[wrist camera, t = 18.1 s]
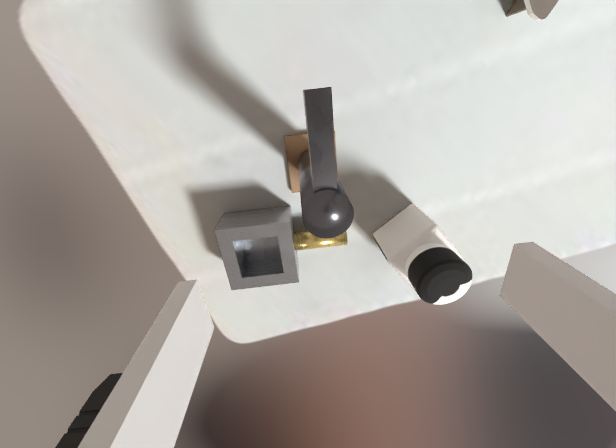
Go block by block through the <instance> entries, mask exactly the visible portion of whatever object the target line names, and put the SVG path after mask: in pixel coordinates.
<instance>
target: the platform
mask: <svg viewBox="0 0 616 448" xmlns="http://www.w3.org/2000/svg"><path fill="white" fill-rule="evenodd" d="M557 2H558V0H516V1H515V2H514V4H513V5H512V7H511V9H510V10H509V12H508V13H507V15H506V16H510V15H513V14H516V13H518V12H521V11H524V10H527V13H528V15H529V16H530V17H532V18H533V19H534V20H535V21H539V20H542V19H545V18H546V17H547V16H548V14H549V13H550V12H551V10H552V9H553V7H554V6H555V5H556V3H557Z"/></svg>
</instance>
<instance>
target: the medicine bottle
mask: <svg viewBox="0 0 616 448" xmlns="http://www.w3.org/2000/svg"><path fill="white" fill-rule="evenodd" d="M373 237H374V239H375V241H376V243H377V244H378V246H379V248H380V249H381V251H382V253H383V255H384V256H385V258H386V260H387V262H388V263H389V264H390V265H391V266H392V267H393V268H394V269H395V270H396V271H397V272H398V273H399V274H400V275H401V276H402V277H403V278H404V279H405V280H406V281H407V282H408V283H409V284H410V286H411V287H412V288H413V289H414V290H415V291H416V292H417V294H418V295H419V297H420V298H421V299H422V300H424V301H425V302H427V303H431V304H438V305H440V304H447V303H450V302H453V301H455V300H457V299H459V298H460V297H461V296H462V295H464V294H465V293H466V292H467V290H468V289H469V287H470V285H471V281H472V271H471V269H470V267H469V266H468V265H467V264H466V263H465V262H464V258H463V257H462V256H461V254H460V253H459V252H458V251H457V249H456V248H455V247H454V245H453V244H452V243H451V242H450V240H449V239H448V238H447V237H446V235H445V234H444V233H443V231H442V230H441V229H440V228H439V226H438V225H437V224H436V223H435V222H434V221H432V220H431V219H430V218H429V217H428V216H427V215H426V214H425V213H423V212H422V211H421V210H420V209H419V208H418V207H417V206H416V205H414V204H410V205H409V206H408V207H406V208H405V209H404V210H402V211H401V212H400V213H398V214H397V215H396V216H395V217H393V218H392V219H391V220H389V221H388V222H387V223H386V224H384V225H383V226H382V227H380V228H379V229H378V230H377V231H375V232H374V233H373Z"/></svg>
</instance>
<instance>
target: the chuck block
mask: <svg viewBox="0 0 616 448" xmlns="http://www.w3.org/2000/svg"><path fill="white" fill-rule="evenodd" d="M214 231H215V235H216V238H217V242H218V245H219V249H220V252H221V255H222V259H223V262H224V266H225V269H226V273H227V276H228V279H229V283H230V286H231V290H237V289H245V288H254V287H262V286H271V285H279V284H288V283H296V282H299V273H298V257H297V250H305V249H314V248H323V247H331V246H340V245H347V233H346V231H345V232H344V233H343V234H341V235H339V236H337V237H334V238H327V239H326V238H319V237H316V236H314V235H313V234H311V233H310V232H309V231H307V232H298V233H294V229H293V222H292V215H291V208H290V206H284V207H275V208H266V209H258V210H249V211H241V212H232V213H224V214H223V216H222V218H221V219H220V221H219V223H218V225H217V226H216V228H215V230H214Z"/></svg>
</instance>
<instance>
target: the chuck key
mask: <svg viewBox="0 0 616 448" xmlns="http://www.w3.org/2000/svg"><path fill="white" fill-rule="evenodd" d="M303 96H304V106H305V116H306V126H307V136H308V146H309V149H307V150H305V151H303V152H302V153H301V155H300V156H299V159H298V172H299V184H300V195H301V207H302V219H303V223H304V226H305V227H306V229H307V230H308V231H309V232H310V233H311V234H313V235H314V236H316V237H319V238H326V239H327V238H334V237H337V236H339V235H341V234H343V233H344V232H345V231H346V230H347V229H348V228H349V227H350V225H351V223H352V220H353V216H354V212H353V207H352V204H351V203H350V201H349V199H348V197H347V195H346V193H345V191H344V190H343V188H342V186H341V184H340V182H339V180H338V179H337V177H336V160H335V142H334V125H333V108H332V90H331V87H326V88H318V89H309V90H303Z"/></svg>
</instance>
